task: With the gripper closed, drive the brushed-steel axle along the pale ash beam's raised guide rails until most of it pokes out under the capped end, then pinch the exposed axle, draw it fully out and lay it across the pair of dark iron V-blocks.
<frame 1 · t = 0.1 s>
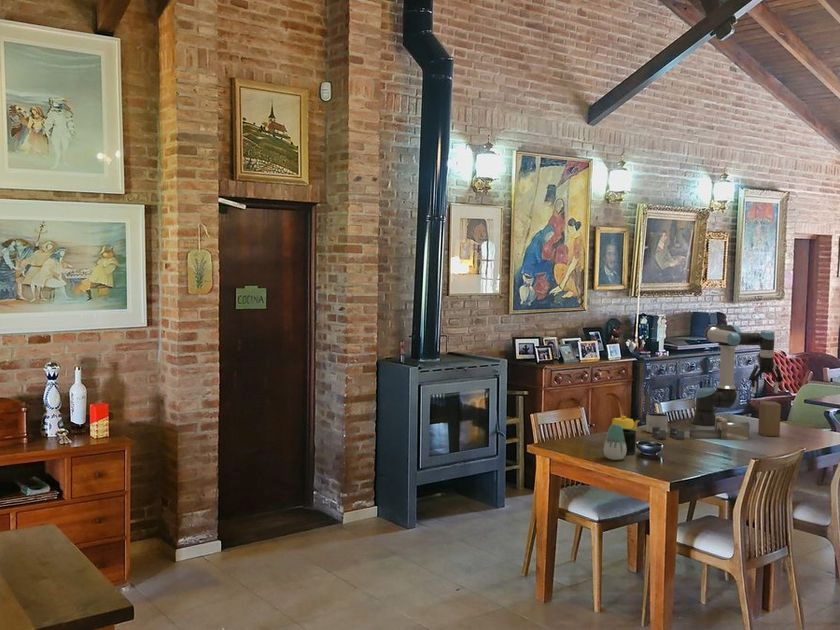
hand: (765, 392, 477), 28 cm above the table, fingers open, 13 cm apart
teapot: (624, 438, 474), on the table
beam: (731, 438, 480), on the table
planter: (656, 432, 493), on the table
wooden block: (768, 435, 493), on the table
vase: (614, 459, 418), on the table
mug: (622, 452, 434), on the table
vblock: (667, 438, 476), on the table
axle: (733, 426, 480), point 7 cm above the table, touching beam
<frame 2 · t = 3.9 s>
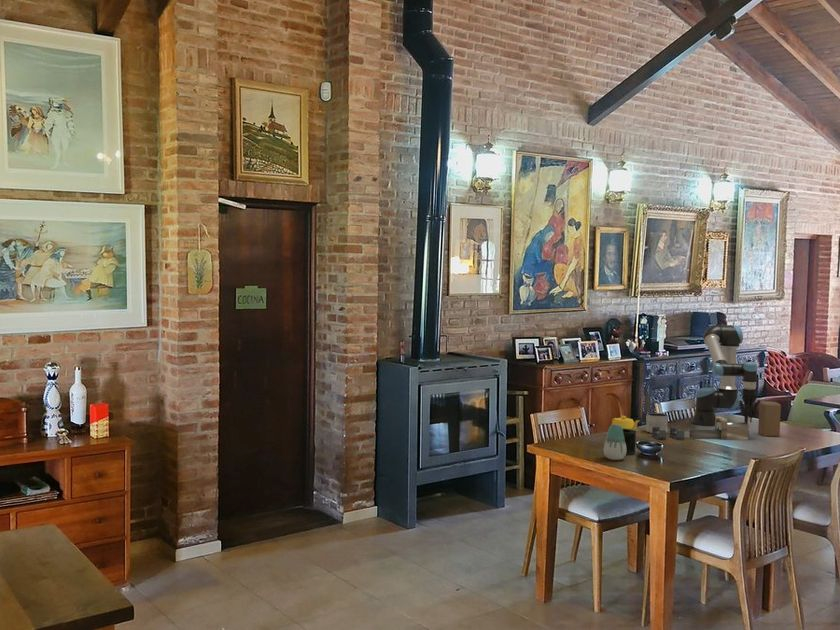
hand: (747, 427, 481), 6 cm above the table, fingers closed
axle: (732, 426, 480), point 7 cm above the table, touching gripper
everything else where it was.
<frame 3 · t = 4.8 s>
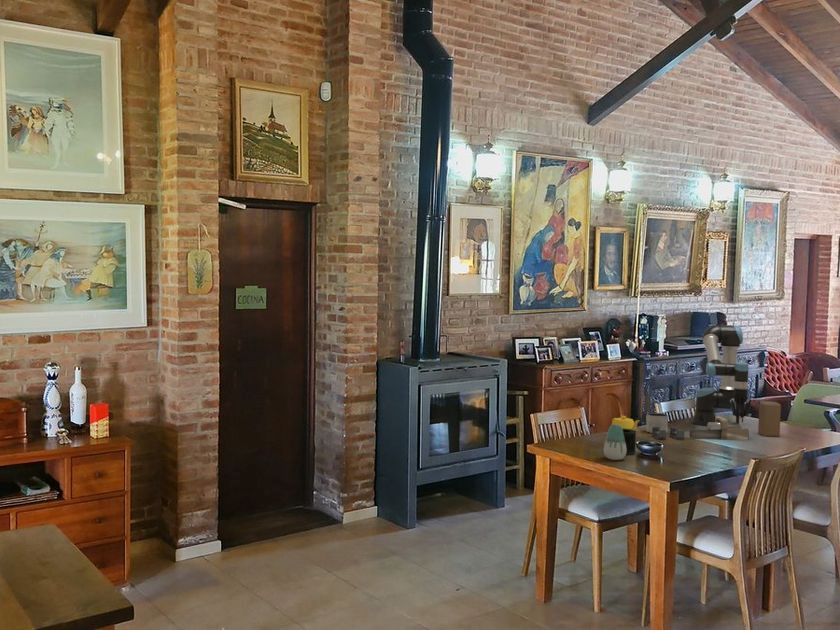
hand: (739, 427, 480), 6 cm above the table, fingers closed
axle: (723, 426, 479), point 7 cm above the table, touching gripper
everything else where it was.
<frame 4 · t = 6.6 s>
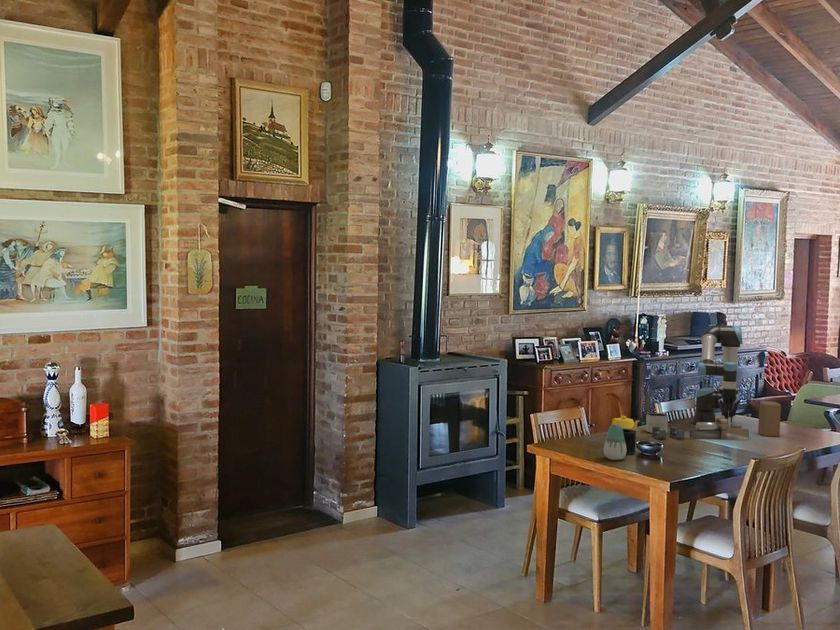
hand: (728, 427, 480), 6 cm above the table, fingers closed
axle: (712, 426, 479), point 7 cm above the table, tilted 16°, touching beam
everything else where it was.
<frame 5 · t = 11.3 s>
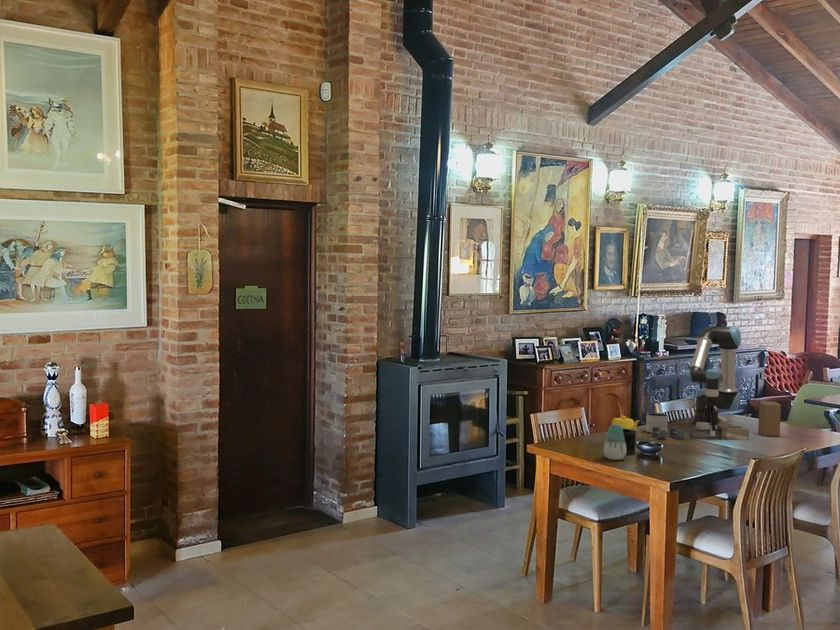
hand: (710, 434, 479), 2 cm above the table, fingers closed on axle, 5 cm apart
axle: (712, 426, 479), point 7 cm above the table, tilted 16°, touching beam, gripper
everything else where it was.
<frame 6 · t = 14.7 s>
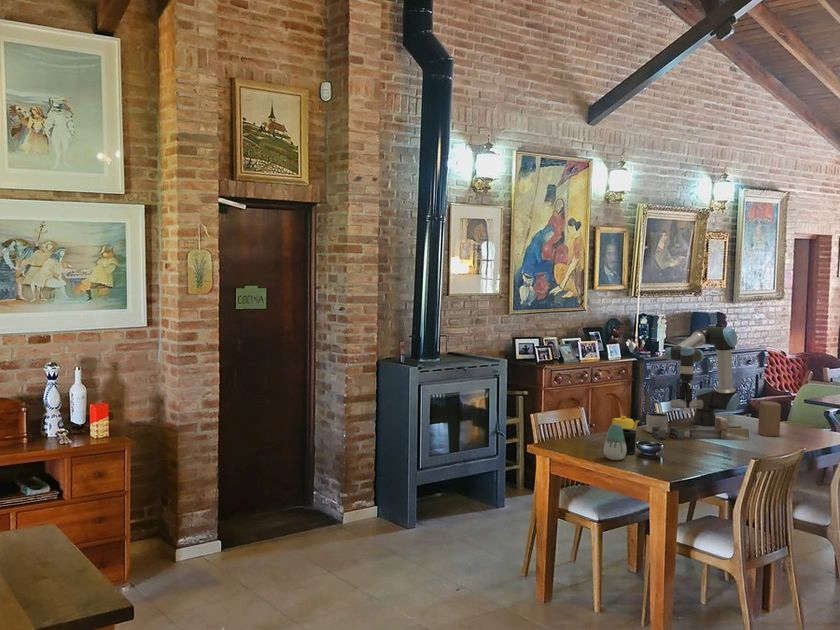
hand: (684, 412, 476), 15 cm above the table, fingers closed on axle, 5 cm apart
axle: (686, 403, 476), point 20 cm above the table, tilted 17°, touching gripper
everything else where it was.
when the fingers open (2 cm above the table, at t = 18.1 s): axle drops 2 cm, resting on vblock.
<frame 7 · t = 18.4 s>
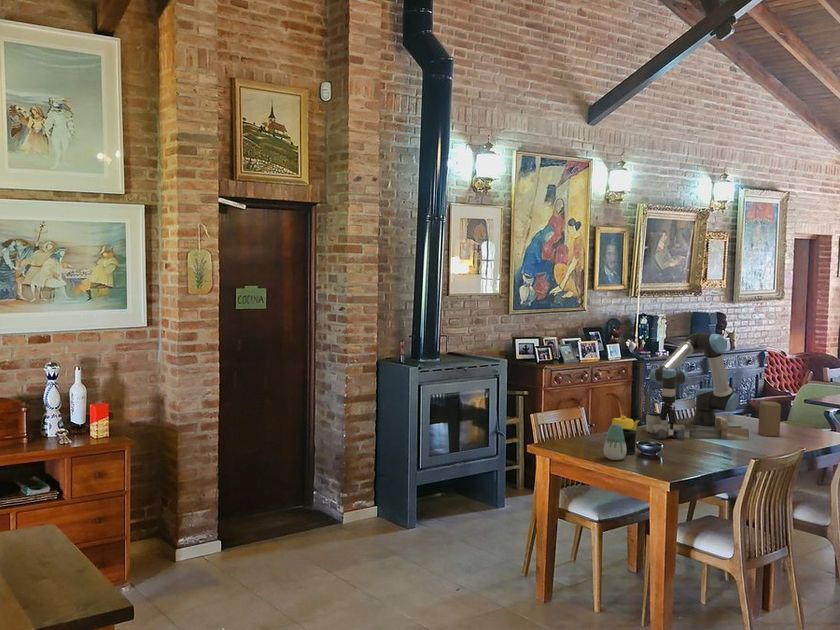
hand: (667, 433, 476), 3 cm above the table, fingers open, 10 cm apart
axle: (668, 428, 476), point 5 cm above the table, tilted 17°, touching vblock
everything else where it was.
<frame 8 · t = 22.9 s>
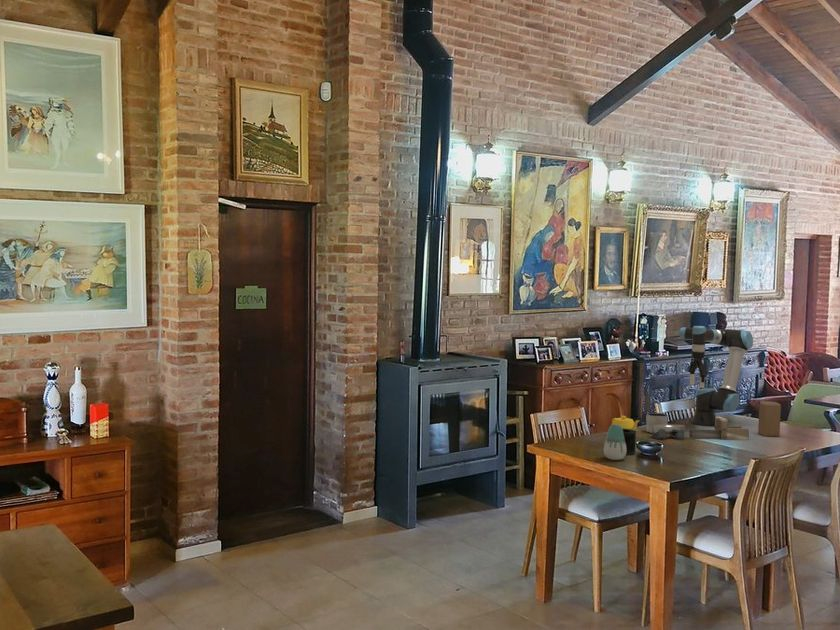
hand: (696, 386, 493), 29 cm above the table, fingers open, 13 cm apart
nothing on the table moved.
at the end: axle 0.5 cm off-centre on the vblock, point 5.4 cm above the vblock's base; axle touching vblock; the gripper is holding nothing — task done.
